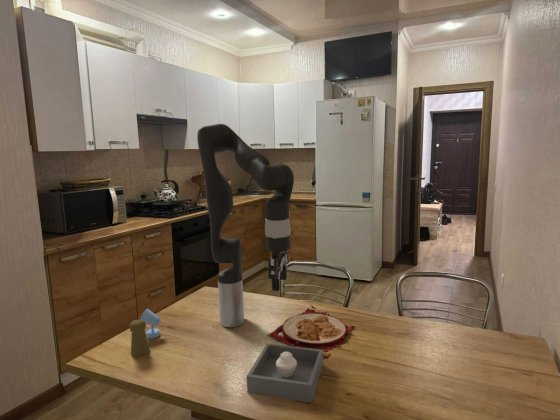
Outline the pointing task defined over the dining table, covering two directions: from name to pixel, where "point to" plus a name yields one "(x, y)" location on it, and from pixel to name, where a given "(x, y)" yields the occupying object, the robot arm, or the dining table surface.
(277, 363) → the white ribbed rounded piece
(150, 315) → the spotlight
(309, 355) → the serving bin
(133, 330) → the olive pepper mill
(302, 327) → the plate with food
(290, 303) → the dining table surface
